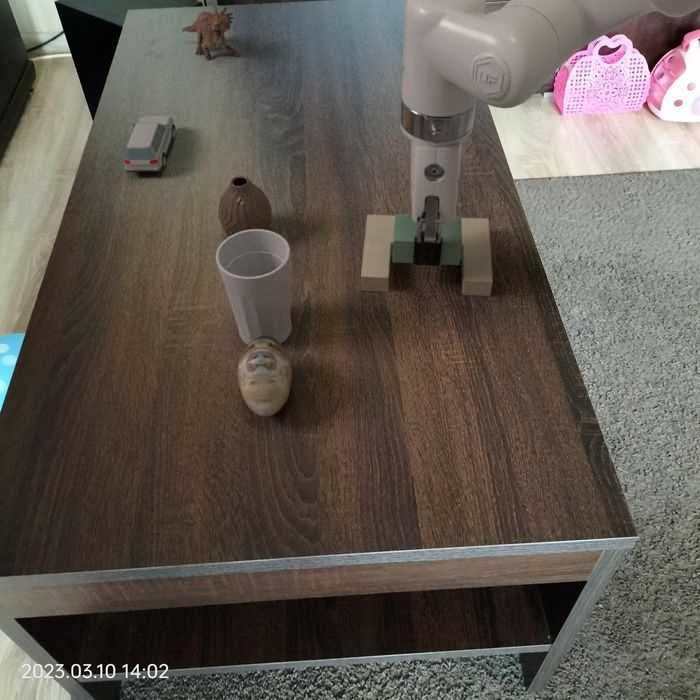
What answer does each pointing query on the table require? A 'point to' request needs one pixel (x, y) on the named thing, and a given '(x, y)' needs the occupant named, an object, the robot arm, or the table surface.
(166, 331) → the table surface
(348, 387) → the table surface
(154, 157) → the toy car
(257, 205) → the vase
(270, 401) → the seashell
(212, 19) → the dinosaur figurine
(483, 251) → the beige c-shaped block
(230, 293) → the cup
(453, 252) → the green block
